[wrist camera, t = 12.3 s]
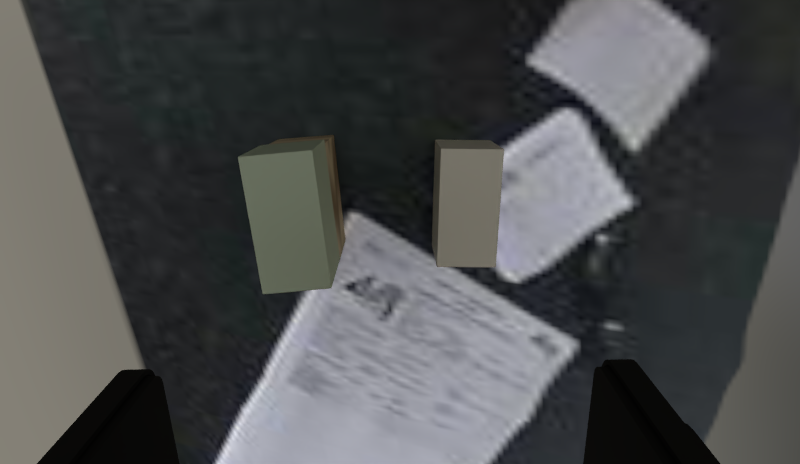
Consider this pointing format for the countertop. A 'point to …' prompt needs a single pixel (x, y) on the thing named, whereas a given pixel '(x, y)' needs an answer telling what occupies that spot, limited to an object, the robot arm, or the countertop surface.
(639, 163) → the countertop surface
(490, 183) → the offwhite brick
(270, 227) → the sage brick
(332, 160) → the beech brick
